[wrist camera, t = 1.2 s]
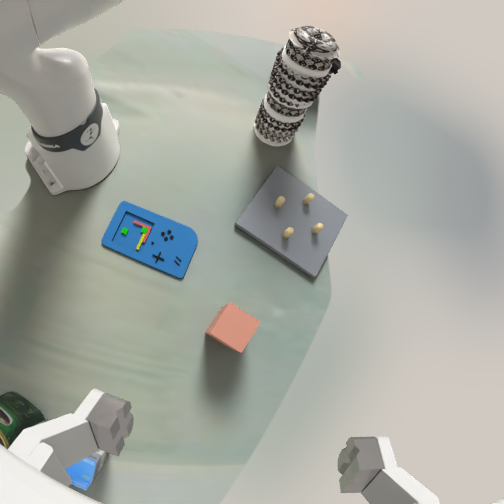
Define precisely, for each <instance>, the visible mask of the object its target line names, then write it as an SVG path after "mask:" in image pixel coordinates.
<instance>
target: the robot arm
mask: <svg viewBox="0 0 504 504" xmlns="http://www.w3.org/2000/svg"><path fill="white" fill-rule="evenodd" d="M123 1H124V0H0V93H1V94H3V95H6V96H7V97H9V98H11V99H12V100H13V101H15V102H16V104H17V105H18V106H19V107H20V109H21V110H22V111H23V113H24V114H25V116H26V117H27V119H28V120H29V122H30V124H31V125H30V127H29V129H28V132H27V138H28V139H29V141H28V142H27V145H26V147H25V153H26V155H27V157H28V159H29V160H30V162H31V164H32V165H33V167H34V168H35V170H36V172H37V173H38V175H39V176H40V178H41V179H42V181H43V182H44V184H45V185H46V187H47V188H48V190H49V191H50V193H51V194H52V195H58V194H60V193H62V192H65V191H67V190H80V189H85V188H88V187H91V186H93V185H95V184H97V183H98V182H100V181H101V180H103V179H104V178H105V177H106V176H107V175H108V174H109V173H110V172H111V171H112V169H113V168H114V166H115V165H116V163H117V160H118V158H119V154H120V143H119V140H118V132H119V128H120V124H119V122H118V121H117V120H115V119H112V117H111V115H110V112H109V110H108V107H107V105H106V104H105V103H102V102H101V99H100V96H99V95H98V92H97V90H96V89H95V88H94V86H93V82H92V78H91V75H90V71H89V66H88V63H87V61H86V59H85V58H84V56H83V55H81V54H80V53H79V52H76V51H74V50H71V49H66V48H53V49H40V48H37V47H39V46H40V45H39V43H40V44H43V43H45V42H46V41H48V40H50V39H52V38H54V37H56V36H58V35H60V34H62V33H64V32H66V31H68V30H70V29H72V28H75V27H76V26H79V25H81V24H84V23H86V22H88V21H90V20H92V19H94V18H95V17H97V16H99V15H101V14H102V13H104V12H106V11H108V10H109V9H111V8H113V7H115V6H116V5H118V4H120V3H122V2H123ZM37 37H38V39H37ZM38 40H39V42H38ZM52 183H54V184H53V185H52ZM130 409H131V403H130V402H129V401H126V400H124V399H121V398H118V397H116V396H113V395H110V394H108V393H105V392H103V391H100V390H97V389H93V390H91V391H90V393H89V394H88V395H87V397H86V398H85V399H84V401H83V402H82V403H81V405H80V406H79V407H78V409H77V410H76V411H75V413H74V414H71V413H69V414H66V415H64V416H61V417H58V418H55V419H53V420H50V421H47V422H44V423H41V424H38V425H35V426H32V427H29V428H26V429H24V430H23V431H22V432H21V433H20V435H19V436H18V437H17V438H16V440H15V441H14V442H13V443H12V445H11V446H10V447H9V448H8V449H6V448H5V447H4V446H2V445H1V444H0V504H103V503H101V502H98V501H96V500H94V499H92V498H90V497H87V496H85V495H83V494H81V493H79V492H77V491H75V490H73V489H71V488H69V486H70V485H71V483H72V480H71V478H70V476H69V475H68V473H67V471H66V470H65V469H66V468H68V467H70V466H72V465H74V464H75V463H77V462H79V461H81V460H83V459H84V458H86V457H88V456H90V455H91V454H93V453H95V452H97V451H98V450H99V449H100V450H102V451H105V452H108V453H110V454H113V455H116V456H119V454H120V452H121V451H122V449H123V447H124V445H125V444H124V440H123V439H124V438H126V437H128V436H129V435H130V433H131V431H132V427H133V415H132V414H131V413H130ZM346 444H347V447H346V448H344V449H342V451H341V453H340V454H339V458H338V471H339V472H340V473H341V474H342V477H341V478H340V480H339V481H340V489H341V493H358V492H362V493H361V494H362V495H363V496H364V497H365V499H366V500H367V501H368V502H369V503H370V504H440V503H439V500H438V497H437V496H435V495H434V494H432V492H430V491H429V490H428V489H426V488H425V487H424V486H423V485H422V484H420V483H419V482H418V481H417V480H416V479H414V478H413V477H412V476H411V475H410V474H408V473H407V472H406V471H405V470H404V469H403V468H401V467H398V466H397V463H396V460H395V456H394V453H393V450H392V447H391V444H390V441H389V438H388V437H387V436H385V437H384V436H383V437H351V438H349V439H348V441H347V442H346ZM492 504H504V498H503V499H501V500H498V501H496V502H494V503H492Z"/></svg>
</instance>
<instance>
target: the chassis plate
mask: <svg viewBox="0 0 504 504" xmlns="http://www.w3.org/2000/svg"><path fill="white" fill-rule="evenodd" d="M346 217H347V214H346V213H344V212H343V211H342V210H340V209H339V208H337V207H336V206H335V205H333V204H332V203H331V202H329V201H328V200H326V199H325V198H323V197H322V196H321V195H319V194H318V193H317V192H315V191H314V190H312V189H311V188H310V187H308V186H307V185H305V184H304V183H302V182H301V181H299V180H298V179H296V178H295V177H293V176H292V175H291V174H289V173H288V172H286V171H285V170H283V169H282V168H280V167H279V166H277V167H276V168H275V169H274V171H273V172H272V173H271V175H270V176H269V177H268V179H267V180H266V181H265V183H264V184H263V186H262V187H261V188H260V190H259V191H258V192H257V194H256V195H255V196H254V198H253V199H252V201H251V202H250V203H249V205H248V206H247V208H246V209H245V210H244V212H243V213H242V214H241V216H240V217H239V219H238V220H237V221H236V223H235V226H237V227H238V228H240V229H241V230H243V231H244V232H246V233H247V234H249V235H250V236H251V237H253V238H254V239H256V240H257V241H259V242H260V243H262V244H263V245H265V246H266V247H268V248H269V249H271V250H272V251H274V252H275V253H277V254H278V255H280V256H281V257H283V258H284V259H285V260H287V261H288V262H290V263H291V264H293V265H294V266H296V267H297V268H299V269H300V270H302V271H303V272H305V273H306V274H307V275H309V276H310V277H312V278H314V277H316V275H317V273H318V272H319V270H320V268H321V266H322V264H323V262H324V260H325V258H326V257H327V255H328V253H329V251H330V249H331V247H332V245H333V243H334V241H335V239H336V237H337V235H338V233H339V231H340V229H341V228H342V226H343V223H344V221H345V220H346Z"/></svg>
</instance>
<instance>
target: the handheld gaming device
mask: <svg viewBox="0 0 504 504" xmlns="http://www.w3.org/2000/svg"><path fill="white" fill-rule="evenodd" d="M102 244H103V245H104V246H106V247H108V248H110V249H112V250H115V251H117V252H119V253H121V254H124V255H126V256H128V257H130V258H133V259H135V260H137V261H139V262H142V263H144V264H146V265H149V266H151V267H153V268H156V269H158V270H160V271H163V272H165V273H167V274H170V275H172V276H174V277H177V278H179V279H182V278H183V277H184V275H185V272H186V270H187V268H188V265H189V263H190V260H191V258H192V256H193V253H194V251H195V249H196V246H197V235H196V233H195V232H194V231H193V230H192V229H191V228H189V227H187V226H185V225H182V224H180V223H177V222H175V221H172V220H170V219H168V218H165V217H163V216H160V215H158V214H155V213H153V212H150V211H148V210H145V209H143V208H141V207H138V206H136V205H133V204H131V203H128V202H126V201H123V202H121V203H120V205H119V207H118V209H117V211H116V212H115V214H114V216H113V218H112V220H111V222H110V224H109V226H108V228H107V230H106V232H105V234H104V236H103V238H102Z"/></svg>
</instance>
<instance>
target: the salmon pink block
mask: <svg viewBox="0 0 504 504" xmlns="http://www.w3.org/2000/svg"><path fill="white" fill-rule="evenodd" d="M260 323H261V322H260V321H258V320H257V319H255V318H254V317H252V316H251V315H249V314H247V313H246V312H244V311H243V310H241V309H240V308H238V307H237V306H235V305H234V304H232V303H231V302H229V303H228V304H226V305H225V306H224V307H222V308H221V309H220V311H219V312H218V314H217V315H216V317H215V319H214V320H213V322H212V323H211V325H210V326H209V328H208V329H207V331H206V332H205V333H206V334H208V335H209V336H211V337H213V338H214V339H216V340H217V341H219V342H220V343H222V344H224V345H225V346H227V347H228V348H230V349H232V350H235V351H237V352H240V353H242V351H243V350H244V348H245V347H246V345H247V343H248V342H249V340H250V339H251V337H252V335H253V334H254V332H255V331H256V329H257V327H258V326H259V324H260Z"/></svg>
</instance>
